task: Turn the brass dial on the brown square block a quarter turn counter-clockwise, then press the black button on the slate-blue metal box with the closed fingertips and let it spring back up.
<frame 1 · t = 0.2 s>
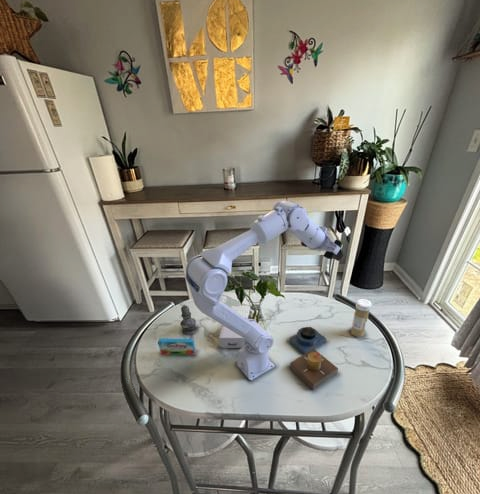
hand: (330, 252, 82), 31 cm above the table, tool tilted 45°, fingers open, 7 cm apart
button: (308, 333, 93), point 4 cm above the table, slide at 0.1 cm
brown square block: (313, 370, 84), on the table
sprinkles bottle: (357, 333, 97), on the table
blue printed cardboard box: (178, 353, 94), on the table
charger: (235, 333, 101), on the table
button box: (307, 341, 95), on the table
dial: (314, 360, 82), point 4 cm above the table, hinge at 0.0°
grey stone statuette: (189, 330, 104), on the table
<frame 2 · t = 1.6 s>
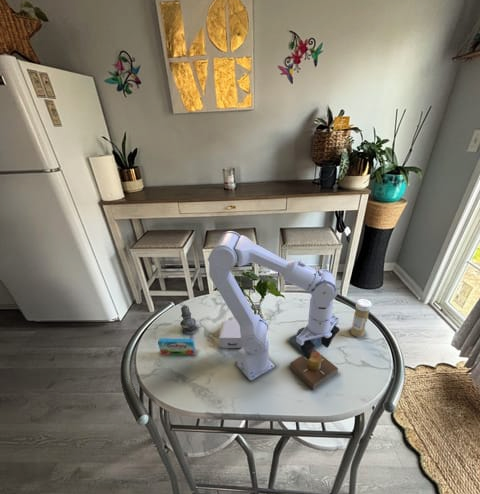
hand: (315, 351, 80), 9 cm above the table, tool pointing down, fingers open, 7 cm apart
nothing on the table moved.
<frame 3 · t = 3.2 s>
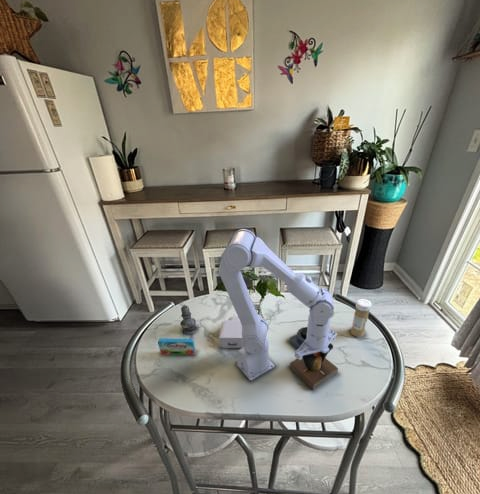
hand: (313, 364, 82), 3 cm above the table, tool pointing down, fingers closed on dial, 4 cm apart
dial: (314, 360, 82), point 4 cm above the table, hinge at -0.1°, touching gripper
everything else where it was.
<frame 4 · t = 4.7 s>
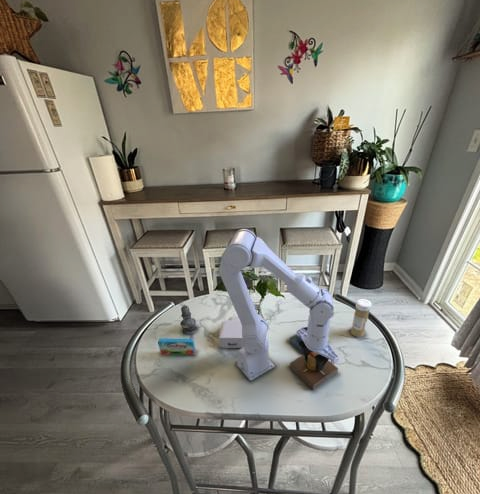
hand: (314, 364, 83), 3 cm above the table, tool pointing down, fingers closed on dial, 4 cm apart
dial: (314, 360, 82), point 4 cm above the table, hinge at 89.5°, touching gripper
everything else where it was.
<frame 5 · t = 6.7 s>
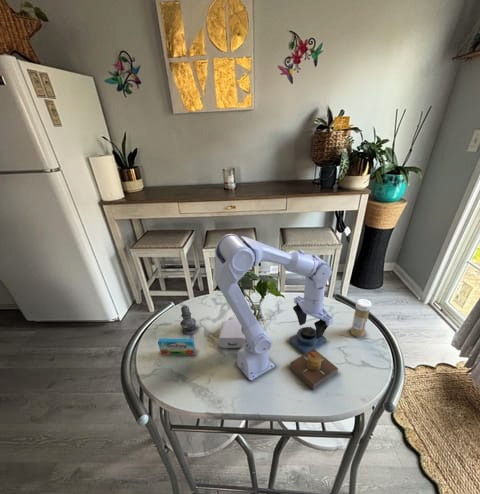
hand: (310, 330, 88), 8 cm above the table, tool pointing down, fingers open, 7 cm apart
dial: (314, 360, 82), point 4 cm above the table, hinge at 90.0°
everything else where it was.
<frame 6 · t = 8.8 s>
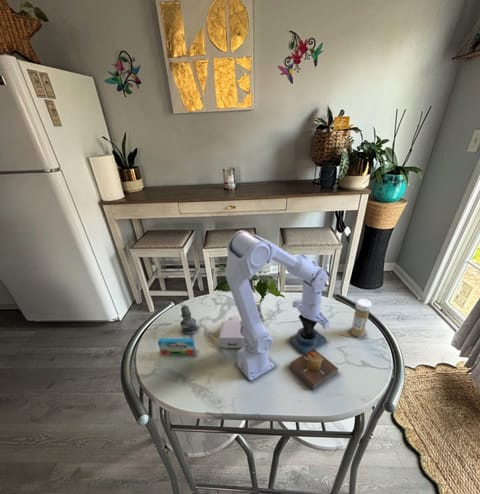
hand: (308, 332, 92), 4 cm above the table, tool pointing down, fingers closed, pressing on button
button: (308, 334, 93), point 3 cm above the table, slide at -0.5 cm, touching gripper
everything else where it was.
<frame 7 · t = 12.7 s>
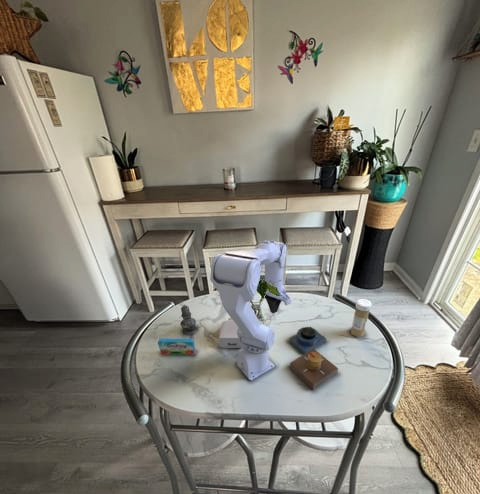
hand: (273, 311, 93), 10 cm above the table, tool pointing down, fingers closed
button: (308, 333, 93), point 4 cm above the table, slide at 0.1 cm
everything else where it was.
at the end: dial at +90° (first picture: +0°); button pushed in 1.2 cm at the most during the clip, back to where it started at the end; button slide at 0.1 cm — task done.
